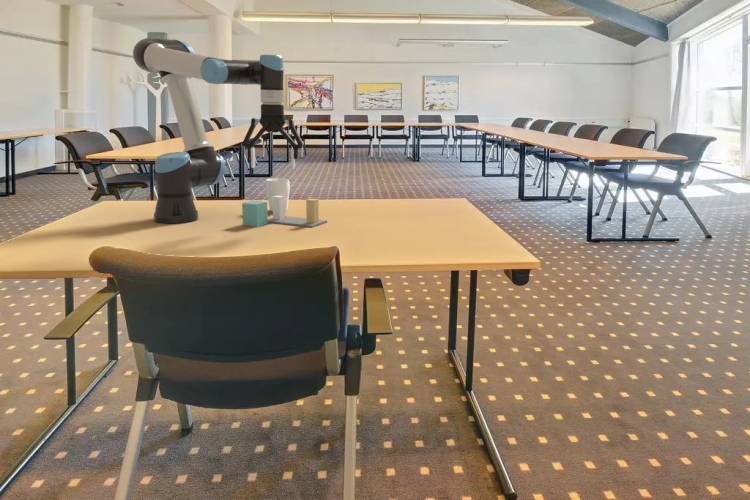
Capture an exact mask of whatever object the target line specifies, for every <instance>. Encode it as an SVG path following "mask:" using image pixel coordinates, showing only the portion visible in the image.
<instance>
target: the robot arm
mask: <svg viewBox="0 0 750 500" xmlns="http://www.w3.org/2000/svg"><path fill="white" fill-rule="evenodd" d="M132 57H133V60H134V63H135V64H136V65H137V67H139V68H140V69H141V70H143V71H145V72H149V73H158V74H159V76H160V79H161V81H162V82H163V83H164V84H166V85H167V88H168V92H169V96H170V100H171V103H172V106H173V110H174V114H175V117H176V121H177V124H178V128H179V131H180V135H181V140H182V142H183V147H184V149H183V151H175V152H168V153H163V154H160V155H158V156H157V157H156V158H155V162H154V165H155V167H154V172H155V181H156V193H157V200H156V206H155V210H154V212H153V221H154V222H155V223H159V224H182V223H183V224H184V223H189V222H194V221H197V220H199V212H198V210H197V207H196V204H195V202H194V199H193V193H192V188H198V187H204V186H206V187H210V186H212V185H216V184H218V183H220V182H221V181H222V180H223V179H224V175H225V173H226V162H225V159H224V157H223V156H222V155H221V154H220V153H218V152H216V150H215V147H214V145H213V144H211V143H210V142H209V140H208V138H207V134H206V129H205V126H204V122H203V119H202V116H201V113H200V108H199V105H198V101H197V97H196V94H195V91H194V87H193V84H192V78H194V79H199V80H202V81H204V82H206V83H208V84H211V85H220V84H222V85H224V84H225V85H226V84H227V85H245V86H247V85H260V86H259V87H260V102H261V105H260V118H256V117H252V118H251V120H250V125H249V128H248V130H247V132H246V134H245V136H244V139H243V140H242V143H241V145H242V146H243V147H246V148H247V157H248V158H250V166H251V167H250V168H251V169H254V168H256V148H255V147H253V146H254V145H255V144H256V143H257V142H258V140H259V139H260V138H261V137H262V136H263V134H264V133H279V134H280V135H282V136H283V138H284V139H285V140H286V141H287V143H288V144H289V145H290V146H291V153H290V154H291V158H290V160H291V161H290V162H291V163H290V164H291V165H290V166H291V167H290V168H291V170H294V169H295V168H296V160H297V159H299V158H298V157H299V149H301V148H303V147H304V143H303V141H302V139H301V137H300V135H299V133H298V131H297V129H296V127H295V122H294V119H292V118H291V119H285V115H284V114H285V111H284V110H285V106H284V102H285V99H284V96H285V95H284V92H285V91H284V70H285V67H284V59H283V57H282V55H280V54H279V55H278V54H260V56H259V60H258V61H256V60H238V59H237V60H236V59H222V58H218V57H211V56H208V55H207V56H206V55H201V54H197V53H195V51H194V49H193V47H191V45H190V44H188V43H187V42H185V41H183V40H179V39H165V38H154V37H147V38H146V37H145V38H142V39H141V40H139V41H138V42H137V43H136V44H135V45H134V47H133V50H132ZM258 124H260V126H261V128H260V130H259V131H258V132H257V133H256V134H255V136H254V137H253V138H252V139H251V137H252V136H253V133H254V131H255V129H256V126H257V125H258ZM285 124H286V126H288V127H289V130H290V132H291V133H292V135H293V138H294V140H295V141H296V142H295V141H294V140H293V139H292V137H291V136H290V134H289V133H288V132H287V131H286V129H285V128H284V126H285ZM250 139H251V140H250ZM249 141H250V142H249Z"/></svg>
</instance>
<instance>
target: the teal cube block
mask: <svg viewBox="0 0 750 500" xmlns="http://www.w3.org/2000/svg"><path fill="white" fill-rule="evenodd" d="M241 206H242V207H241V210H242V212H241V213H242V226H245V227H247V226H249V227H254V228H257V227H262V226H265V225H268V223H269V222H268V219H269V218H268V202H267V201H262V200H249V201H246V202H241Z"/></svg>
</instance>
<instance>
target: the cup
mask: <svg viewBox="0 0 750 500" xmlns="http://www.w3.org/2000/svg"><path fill="white" fill-rule="evenodd" d="M265 182H266V183H265V184H266V185H265V189H266V194H267V195H266V196H267V200H268V207H269V211H270V212H272V213H273V200H272V197H273V196H284V204H285V212H287V211H288V207H289V198H290V191H291V190H290V189H291V185H290V184H291V183H290V179H289V178H282V177H278V178H277V177H274V178H267V179H266V180H265Z"/></svg>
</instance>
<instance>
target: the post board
mask: <svg viewBox="0 0 750 500" xmlns="http://www.w3.org/2000/svg"><path fill="white" fill-rule="evenodd" d="M272 200H273V212H272V217H271V218H267V219H268V223H270V224H278V225H287V226H296V227H306V228H315V227H318V226H321V225H324V224H327V223H328V220H325V219H324V220H323V219H319V199H318V198H307V199H306V200H305V202H306V203H305V204H306V205H305V206H306V211H305V212H306V217H305V218H304V217H299V216H298V217H296V216H288V215H285V214H286V211H285V204H284V196H273V197H272Z"/></svg>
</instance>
